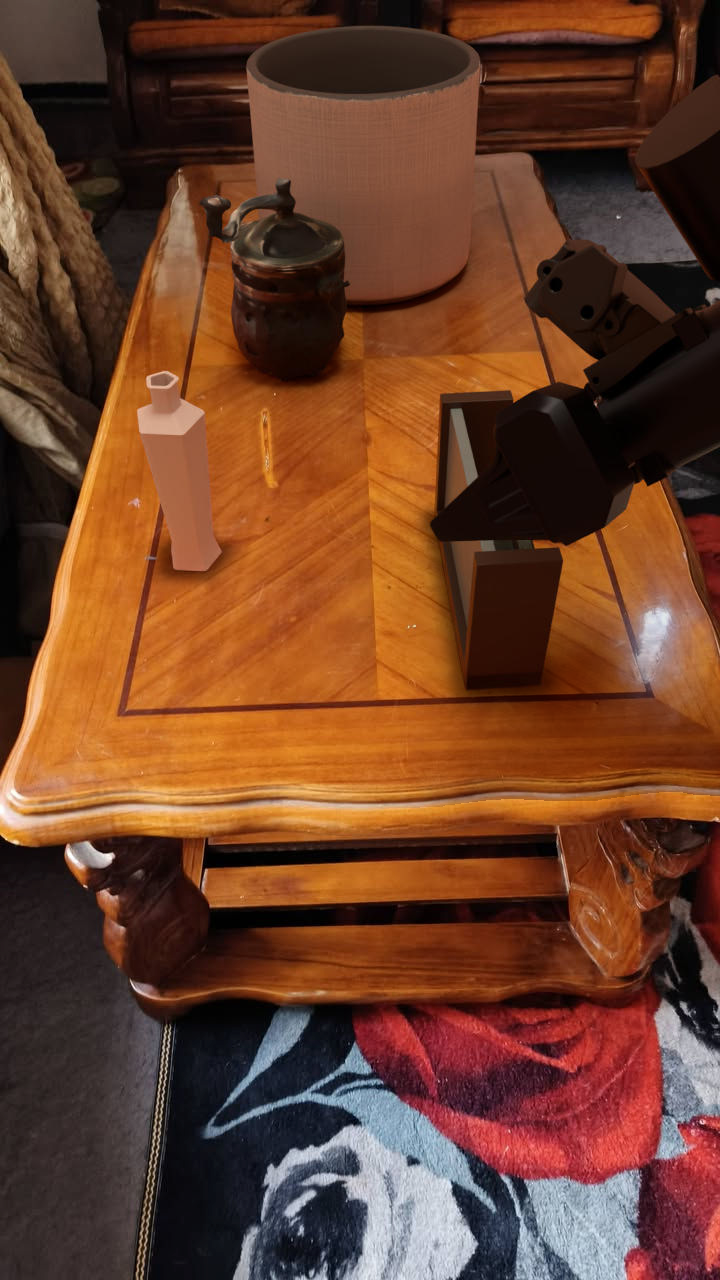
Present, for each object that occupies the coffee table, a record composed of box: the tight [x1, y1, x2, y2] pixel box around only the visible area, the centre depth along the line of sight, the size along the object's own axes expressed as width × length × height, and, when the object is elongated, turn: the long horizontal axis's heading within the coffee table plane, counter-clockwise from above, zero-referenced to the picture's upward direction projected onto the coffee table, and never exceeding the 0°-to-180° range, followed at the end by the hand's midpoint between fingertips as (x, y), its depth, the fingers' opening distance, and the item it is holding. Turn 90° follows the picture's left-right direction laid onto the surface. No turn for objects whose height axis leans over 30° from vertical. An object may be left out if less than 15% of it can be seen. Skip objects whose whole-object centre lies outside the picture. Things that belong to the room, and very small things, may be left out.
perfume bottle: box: [136, 370, 223, 572], centre depth 67 cm, size 5×4×15 cm
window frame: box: [433, 389, 564, 691], centre depth 65 cm, size 5×18×11 cm, turn 3°
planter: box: [246, 25, 481, 306], centre depth 98 cm, size 23×23×20 cm
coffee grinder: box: [198, 178, 350, 382], centre depth 84 cm, size 13×15×18 cm
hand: (471, 511), depth 51 cm, fingers open, 9 cm apart
